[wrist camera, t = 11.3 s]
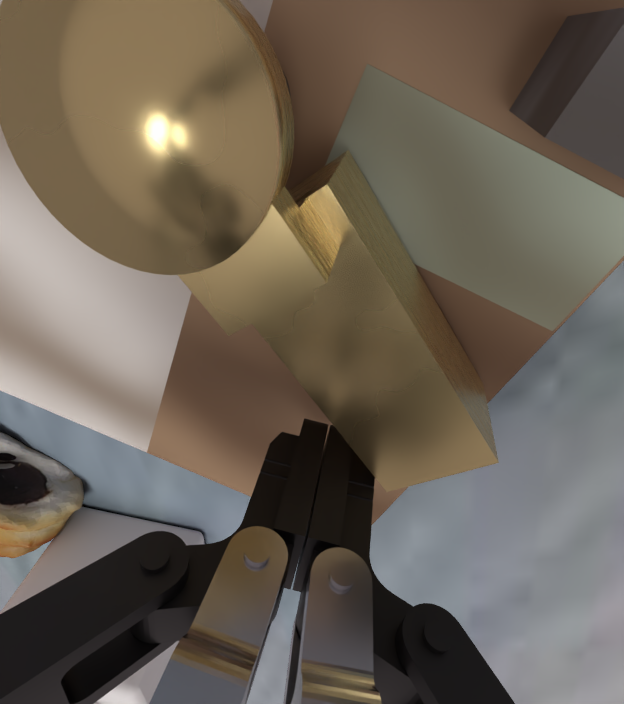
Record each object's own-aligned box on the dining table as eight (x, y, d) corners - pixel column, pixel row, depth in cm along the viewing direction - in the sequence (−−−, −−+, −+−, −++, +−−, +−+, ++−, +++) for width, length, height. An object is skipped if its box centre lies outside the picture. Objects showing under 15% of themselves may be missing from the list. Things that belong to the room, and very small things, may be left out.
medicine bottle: (105, 573, 28) (-61, 859, 18) (76, 502, 23) (-161, 826, 14) (215, 598, 27) (102, 913, 17) (205, 529, 23) (48, 895, 13)
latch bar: (118, 71, 9) (-61, 91, 6) (253, -74, 8) (115, -172, 4) (377, 421, 14) (363, 555, 10) (501, 377, 12) (538, 520, 8)
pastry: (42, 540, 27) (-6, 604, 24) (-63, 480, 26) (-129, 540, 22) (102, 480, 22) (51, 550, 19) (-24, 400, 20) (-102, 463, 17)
